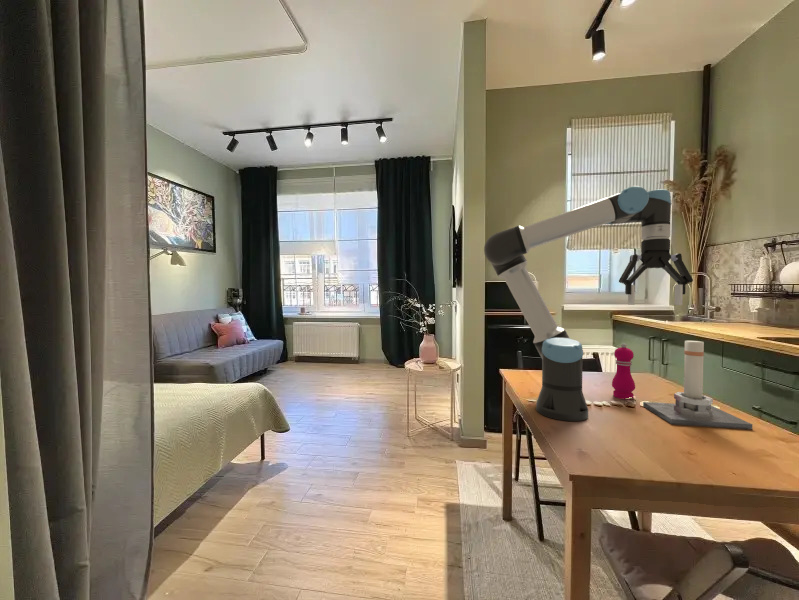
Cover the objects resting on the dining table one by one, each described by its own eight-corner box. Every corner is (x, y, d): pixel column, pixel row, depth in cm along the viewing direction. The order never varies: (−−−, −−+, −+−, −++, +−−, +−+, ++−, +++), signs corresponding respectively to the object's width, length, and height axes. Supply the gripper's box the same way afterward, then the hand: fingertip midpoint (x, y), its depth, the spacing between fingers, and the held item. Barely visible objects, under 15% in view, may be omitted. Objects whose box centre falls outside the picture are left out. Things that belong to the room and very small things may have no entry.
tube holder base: (671, 424, 98) (671, 402, 98) (643, 406, 114) (643, 387, 114) (752, 429, 94) (752, 406, 94) (711, 410, 110) (711, 390, 110)
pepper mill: (639, 400, 121) (640, 344, 120) (619, 400, 121) (620, 344, 120) (626, 394, 128) (627, 341, 127) (607, 394, 128) (608, 341, 128)
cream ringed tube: (689, 414, 102) (690, 342, 102) (679, 409, 107) (681, 340, 106) (706, 415, 102) (707, 342, 101) (696, 410, 106) (697, 340, 105)
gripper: (618, 238, 108) (617, 304, 108) (708, 236, 103) (707, 305, 103) (608, 242, 115) (607, 304, 115) (692, 240, 110) (691, 304, 111)
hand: (654, 304), depth 109 cm, fingers open, 13 cm apart
